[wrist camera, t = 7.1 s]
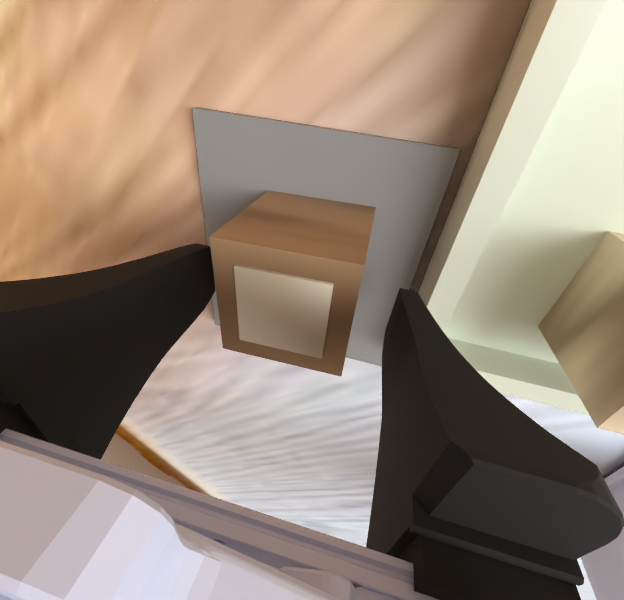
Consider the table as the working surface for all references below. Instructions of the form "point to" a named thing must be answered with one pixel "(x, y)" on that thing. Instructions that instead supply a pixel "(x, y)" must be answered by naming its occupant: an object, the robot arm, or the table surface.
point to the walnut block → (291, 278)
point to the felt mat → (330, 195)
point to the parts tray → (535, 197)
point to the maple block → (593, 333)
